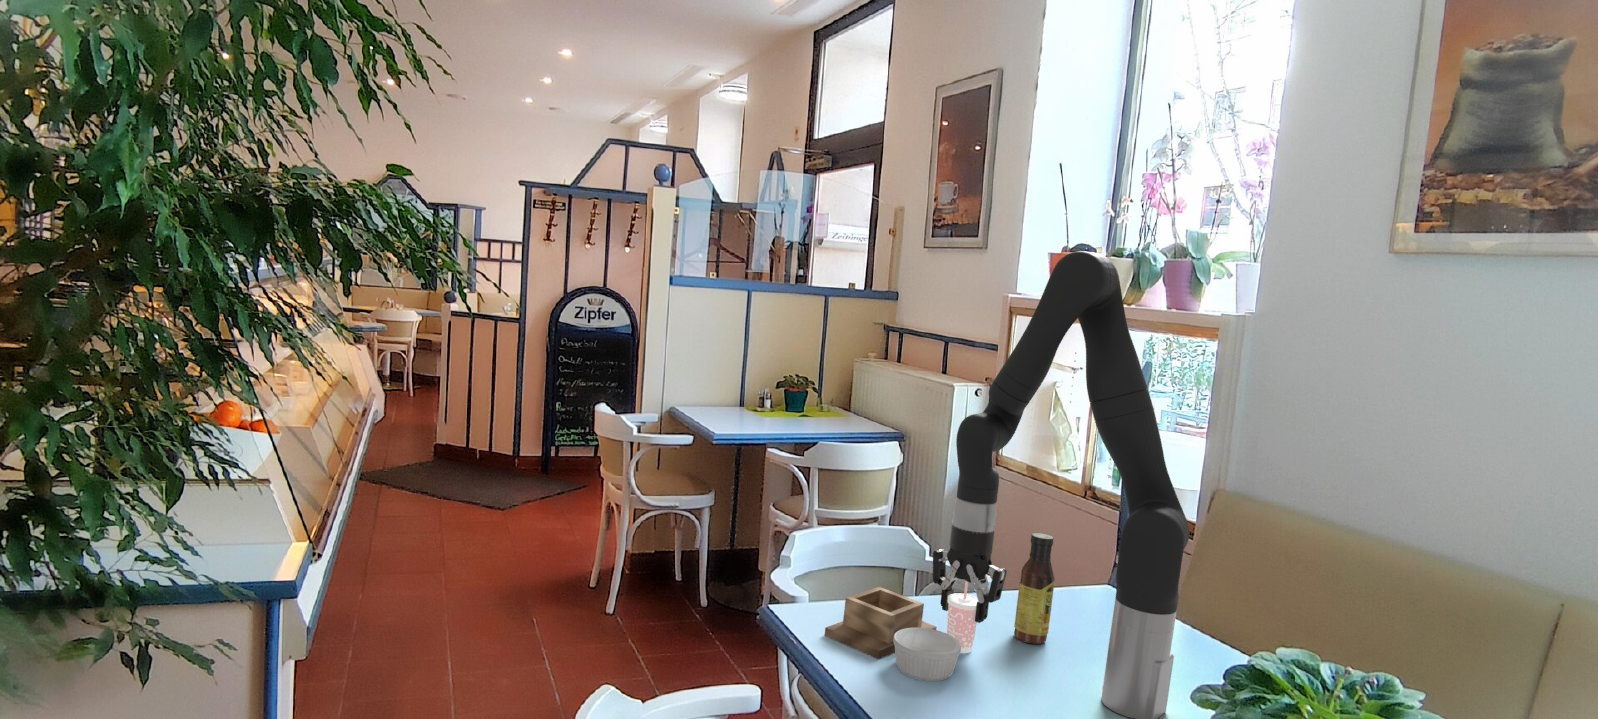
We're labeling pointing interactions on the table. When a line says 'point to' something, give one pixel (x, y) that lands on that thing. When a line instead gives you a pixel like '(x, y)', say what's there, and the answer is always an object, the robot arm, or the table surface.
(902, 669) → the ramekin
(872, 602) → the cup holder
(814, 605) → the table surface
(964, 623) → the beverage cup
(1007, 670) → the table surface
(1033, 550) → the sauce bottle
